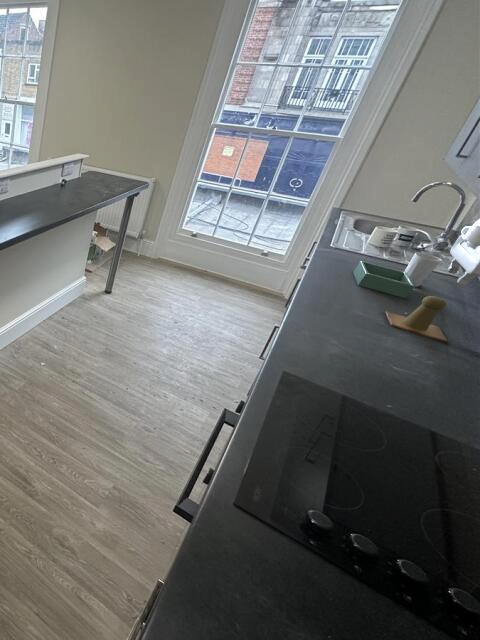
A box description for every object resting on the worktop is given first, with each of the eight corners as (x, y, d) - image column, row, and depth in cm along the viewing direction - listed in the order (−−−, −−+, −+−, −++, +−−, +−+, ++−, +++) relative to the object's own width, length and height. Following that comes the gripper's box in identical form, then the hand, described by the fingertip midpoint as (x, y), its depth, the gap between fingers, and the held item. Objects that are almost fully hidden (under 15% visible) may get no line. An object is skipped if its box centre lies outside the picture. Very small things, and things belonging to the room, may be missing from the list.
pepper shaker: (403, 324, 136) (425, 297, 130) (403, 317, 140) (424, 291, 134) (427, 333, 133) (450, 305, 127) (427, 326, 136) (450, 299, 131)
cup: (404, 285, 164) (424, 259, 158) (391, 276, 171) (410, 251, 165) (426, 288, 163) (447, 263, 157) (413, 279, 170) (432, 254, 163)
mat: (437, 328, 137) (438, 326, 137) (446, 342, 130) (447, 340, 130) (384, 312, 143) (386, 311, 143) (390, 325, 136) (391, 324, 136)
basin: (397, 283, 165) (405, 272, 162) (405, 298, 154) (414, 286, 151) (353, 272, 171) (360, 260, 169) (358, 285, 161) (366, 273, 158)
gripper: (518, 252, 110) (481, 294, 118) (490, 231, 125) (458, 269, 132) (486, 246, 113) (452, 287, 120) (462, 225, 128) (433, 263, 135)
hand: (455, 277), depth 126 cm, fingers open, 8 cm apart
